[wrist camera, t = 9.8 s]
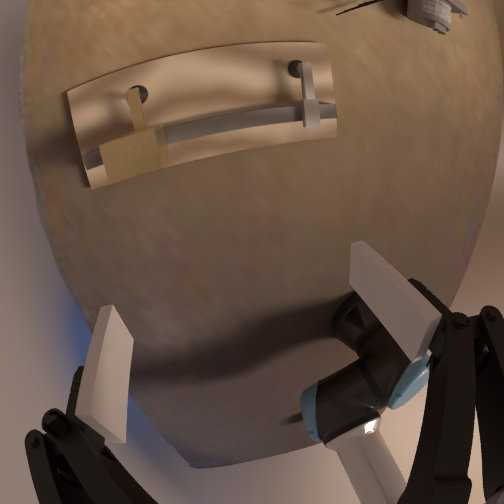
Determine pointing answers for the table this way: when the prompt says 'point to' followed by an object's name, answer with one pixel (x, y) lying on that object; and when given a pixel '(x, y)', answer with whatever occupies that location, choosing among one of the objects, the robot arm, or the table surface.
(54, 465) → the robot arm
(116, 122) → the gauge board
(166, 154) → the brass sliding point
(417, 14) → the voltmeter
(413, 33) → the table surface
